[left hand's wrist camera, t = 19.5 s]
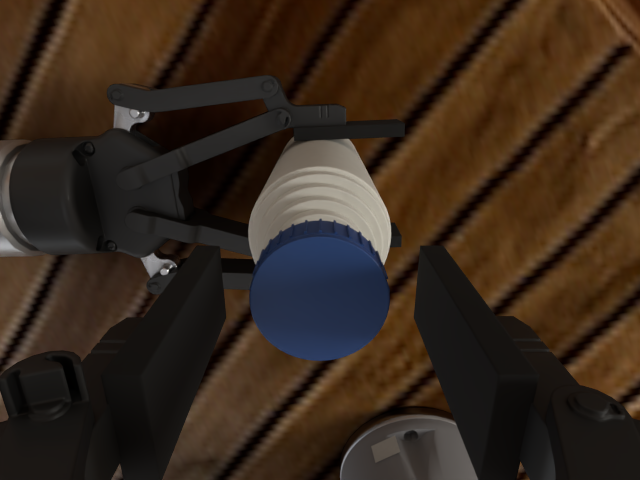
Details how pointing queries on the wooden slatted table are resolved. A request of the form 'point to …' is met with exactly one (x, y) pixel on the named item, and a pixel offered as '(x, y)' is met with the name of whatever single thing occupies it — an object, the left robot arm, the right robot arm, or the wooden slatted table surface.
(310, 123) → the right robot arm
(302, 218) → the bottle
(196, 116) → the wooden slatted table surface
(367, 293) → the cap
